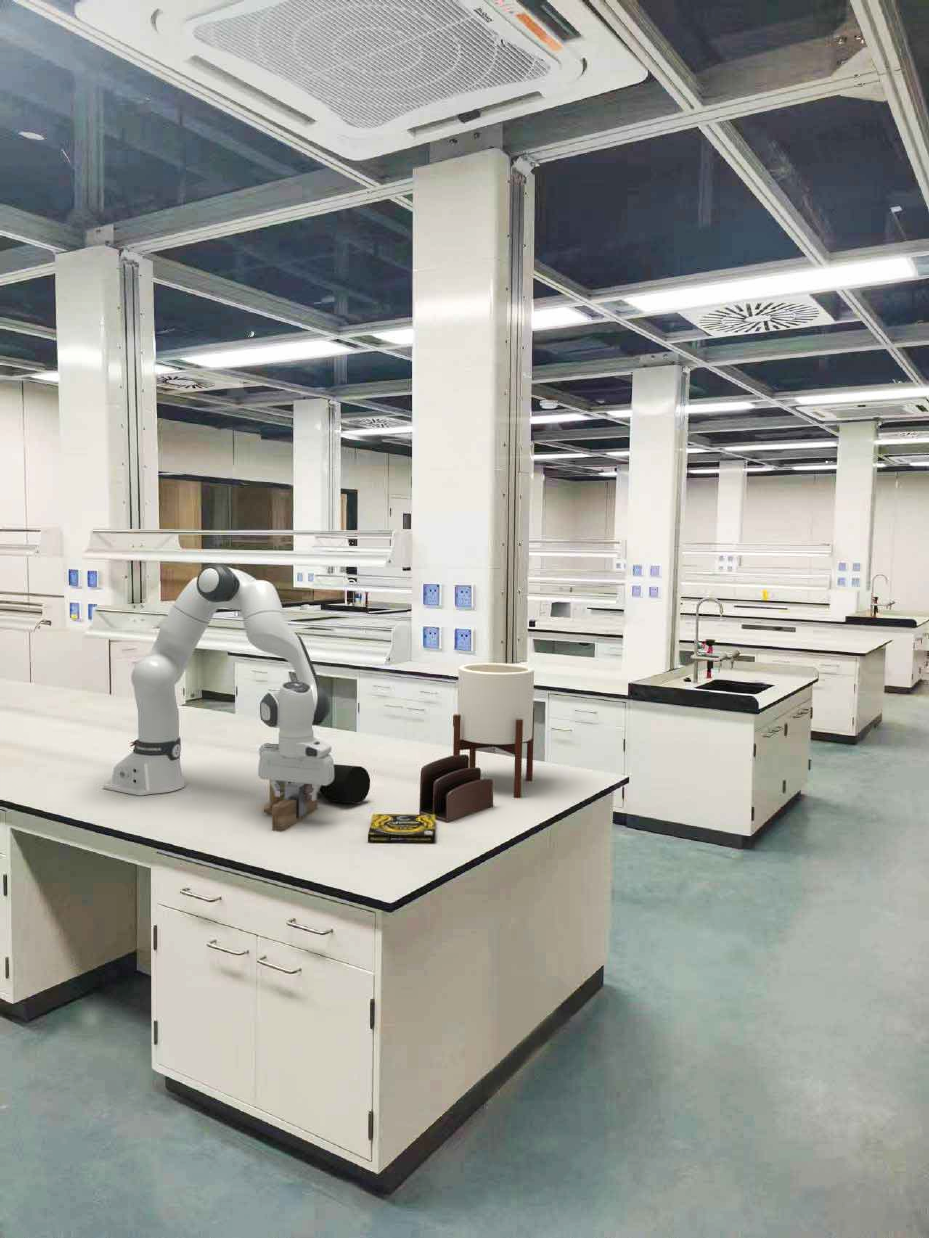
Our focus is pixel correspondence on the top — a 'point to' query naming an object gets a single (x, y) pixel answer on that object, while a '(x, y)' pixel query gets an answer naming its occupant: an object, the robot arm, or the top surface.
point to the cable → (346, 784)
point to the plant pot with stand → (496, 713)
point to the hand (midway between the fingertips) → (295, 798)
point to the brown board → (291, 811)
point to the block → (297, 796)
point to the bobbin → (274, 799)
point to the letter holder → (453, 789)
